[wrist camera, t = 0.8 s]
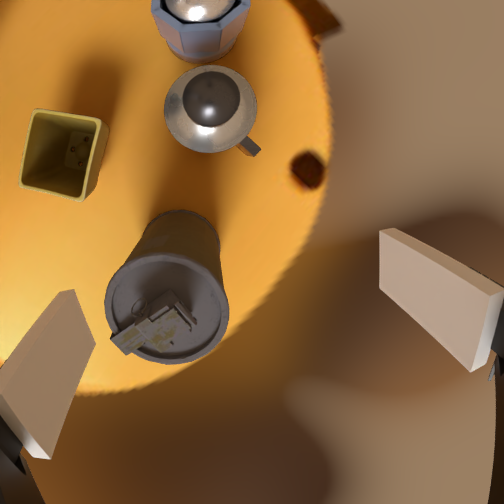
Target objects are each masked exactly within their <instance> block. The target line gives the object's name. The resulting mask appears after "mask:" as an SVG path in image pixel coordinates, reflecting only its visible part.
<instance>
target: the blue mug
mask: <svg viewBox="0 0 504 504" xmlns="http://www.w3.org/2000/svg"><path fill="white" fill-rule="evenodd" d="M249 8H250V0H235V3H234V5H233V7H232V9H231V10H230V11H229V12H228V13H227V14H226V15H225V16H223V17H222V18H220V19H218V20H216V21H213V22H210V23H200V24H191V23H186V22H183V21H181V20H179V19H177V18H175V17H174V16H173V15H172V14H171V13H170V11H169V10H168V8H167V5H166V1H165V0H152V3H151V13H152V15H153V17H154V20H155V22H156V25H157V27H158V30H159V32H160V35H161V36H162V37H163V38H165V39H166V42H167V44H168V47H169V48H170V50H171V51H172V53H173V54H174V55H176V56H177V57H178V58H180V59H182V60H184V61H186V62H190V63H196V64H203V63H209V62H213V61H216V60H218V59H220V58H222V57H223V56H225V55H226V54H227V53H228V52H229V51H230V50H231V49H232V47H233V46H234V44H235V42H236V39H237V36H238V34H239V33H240V32H241V31H242V29H243V26H244V23H245V20H246V17H247V14H248V11H249Z"/></svg>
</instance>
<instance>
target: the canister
mask: <svg viewBox="0 0 504 504" xmlns="http://www.w3.org/2000/svg"><path fill="white" fill-rule="evenodd" d="M104 305H105V314H106V319H107V321H108V324H109V326H110V329H111V330H112V332H113V333H112V335H111V337H110V340H111V341H112V342H113V343H114V344H115V345H116V346H117V347H118V348H119V349H120V350H121V351H122V352H123V353H124V354H125V355H128V354H130V353H131V352H132V353H134V354H135V355H137V356H139V357H141V358H143V359H145V360H148V361H152V362H157V363H161V364H166V365H170V364H182V363H187V362H192V361H194V360H196V359H198V358H200V357H202V356H204V355H206V354H208V353H209V352H210V351H211V350H212V349H214V348H215V346H216V345H217V344H218V343H219V342H220V341H221V339H222V337H223V336H224V334H225V332H226V329H227V325H228V321H229V304H228V299H227V296H226V293H225V290H224V285H223V278H222V270H221V262H220V243H219V239H218V235H217V233H216V231H215V230H214V228H213V227H212V225H211V224H210V223H209V222H208V221H207V220H206V219H205V218H203V217H202V216H200V215H198V214H196V213H194V212H191V211H186V210H172V211H168V212H165V213H163V214H161V215H159V216H158V217H156V218H155V219H154V220H152V221H151V223H150V224H149V225H148V226H147V228H146V230H145V231H144V234H143V236H142V238H141V239H140V240H139V242H138V243H137V245H136V246H135V248H134V249H133V251H132V252H131V254H130V255H129V257H128V258H127V260H126V261H125V263H124V264H123V265H122V266H121V267H120V268H119V269H118V270H117V272H116V273H115V274H114V275H113V277H112V278H111V280H110V282H109V284H108V287H107V290H106V295H105V301H104Z"/></svg>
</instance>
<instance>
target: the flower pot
mask: <svg viewBox="0 0 504 504" xmlns="http://www.w3.org/2000/svg"><path fill="white" fill-rule="evenodd" d="M108 135H109V126H108V125H107V124H106V123H105V122H103V121H102V120H101V119H99V118H95V117H89V116H83V115H77V114H71V113H65V112H58V111H52V110H46V109H39V108H37V109H34V110H33V112H32V115H31V119H30V123H29V127H28V132H27V137H26V142H25V147H24V152H23V157H22V162H21V168H20V174H19V186H20V187H21V188H25V189H29V190H35V191H39V192H44V193H48V194H52V195H55V196H59V197H63V198H66V199H70V200H74V201H78V202H82V201H84V199H85V198H87V197H88V196H89V195H90V194H91V193H92V191H93V190H94V189H95V187H96V185H97V181H98V176H99V171H100V167H101V162H102V158H103V154H104V150H105V146H106V142H107V139H108ZM86 137H88V141H87V142H86V141H85V138H86ZM73 147H74V148H75V151H74V152H72V151H71V149H72V148H73ZM79 162H82V163H83V165H82V166H80V165H79Z"/></svg>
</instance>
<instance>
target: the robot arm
mask: <svg viewBox="0 0 504 504" xmlns="http://www.w3.org/2000/svg"><path fill="white" fill-rule="evenodd" d="M379 288H380V289H381V290H382V291H383V292H384V293H386V294H387V295H388V296H389V297H390V298H391V299H392V300H394V301H395V302H396V303H397V304H398V305H399V306H400V307H401V308H402V309H404V310H405V311H406V312H407V313H408V314H409V315H410V316H411V317H412V318H413V319H415V320H416V321H417V322H418V323H419V324H420V325H421V326H422V327H423V328H425V330H427V331H428V332H429V333H430V334H431V335H432V336H433V337H434V338H435V339H436V340H437V341H438V342H439V343H440V344H441V345H443V346H444V347H445V348H446V349H447V350H448V351H449V352H450V353H451V354H452V355H453V356H454V357H455V358H456V359H457V360H458V361H459V362H460V363H461V364H462V365H463V366H464V367H465V368H466V369H467V370H468V371H469V372H472V371H474V370H476V369H477V368H479V367H481V366H483V365H485V364H486V362H487V359H488V356H489V352H490V349H492V350H493V351H494V352H496V353H497V355H496V358H495V361H494V364H493V367H492V370H491V373H490V375H489V379H488V381H491V379H492V377H493V375H494V374H495V387H496V429H495V448H494V449H495V450H494V461H493V471H492V479H491V486H490V493H489V500H488V504H504V287H503V286H502V285H500V284H498V283H497V282H495V281H493V280H492V279H489V278H488V277H487V276H485V275H481V273H480V272H478V271H476V270H474V269H473V268H471V267H467V266H465V265H463V264H462V263H460V262H458V261H456V260H454V259H452V258H451V257H449V256H447V255H445V254H443V253H442V252H440V251H438V250H436V249H434V248H432V247H430V246H428V245H427V244H425V243H423V242H421V241H419V240H417V239H415V238H413V237H411V236H409V235H407V234H405V233H403V232H401V231H399V230H397V229H395V228H391V229H386V230H381V231H380V286H379ZM95 345H96V343H95V341H94V338H93V336H92V334H91V331H90V329H89V326H88V324H87V322H86V319H85V317H84V314H83V312H82V309H81V306H80V304H79V301H78V299H77V296H76V293H75V290H74V289H72V290H67V291H62V292H59V293H58V294H57V296H56V297H55V298H54V299H53V300H52V302H51V303H50V304H49V305H48V307H47V308H46V309H45V310H44V312H43V313H42V314H41V315H40V317H39V318H38V319H37V320H36V322H35V323H34V324H33V325H32V327H31V328H30V329H29V331H28V332H27V333H26V335H25V336H24V337H23V339H22V340H21V341H20V343H19V344H18V345H17V347H16V348H15V349H14V351H13V352H12V353H11V355H10V356H9V358H8V359H7V360H6V361H5V362H4V364H3V365H2V367H1V368H0V504H45V502H44V500H43V498H42V496H41V493H40V491H39V489H38V487H37V485H36V483H35V481H34V478H33V476H32V474H31V471H30V469H29V467H28V464H27V462H26V460H25V458H24V457H23V456H22V455H21V454H20V451H21V449H22V446H24V447H25V448H26V449H27V451H28V452H29V453H30V454H31V455H32V456H33V457H36V458H45V459H51V457H52V454H53V451H54V448H55V445H56V442H57V439H58V437H59V434H60V431H61V428H62V426H63V423H64V420H65V417H66V415H67V412H68V409H69V407H70V404H71V402H72V399H73V397H74V394H75V392H76V389H77V387H78V384H79V382H80V379H81V377H82V375H83V372H84V370H85V367H86V365H87V363H88V360H89V358H90V356H91V354H92V351H93V349H94V347H95Z"/></svg>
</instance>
